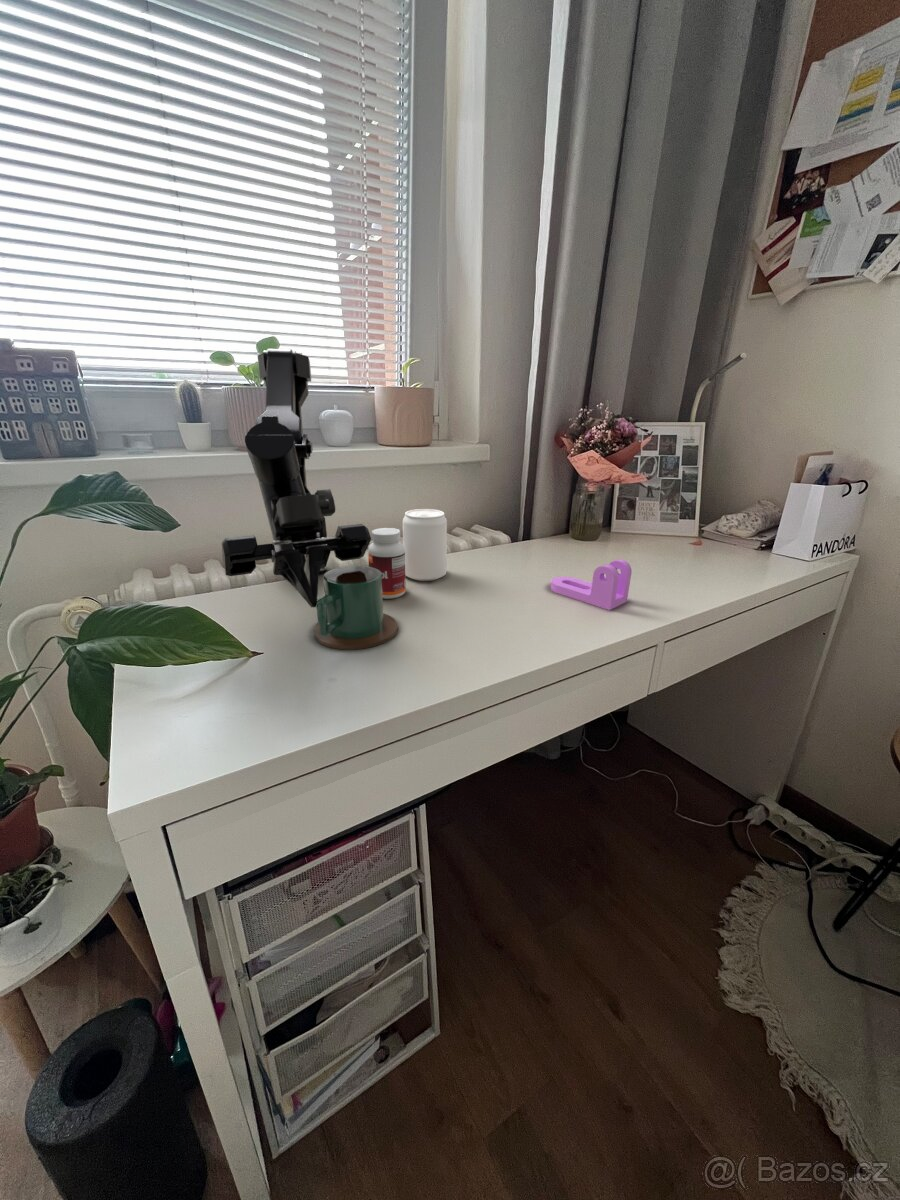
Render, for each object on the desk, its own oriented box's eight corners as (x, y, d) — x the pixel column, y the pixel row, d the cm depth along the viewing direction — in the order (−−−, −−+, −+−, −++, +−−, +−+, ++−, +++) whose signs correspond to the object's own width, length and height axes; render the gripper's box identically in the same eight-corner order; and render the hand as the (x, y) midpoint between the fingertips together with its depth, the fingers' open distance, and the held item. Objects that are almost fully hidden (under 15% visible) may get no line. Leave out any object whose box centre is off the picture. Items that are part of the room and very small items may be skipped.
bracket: (626, 601, 85) (633, 562, 82) (609, 610, 81) (615, 569, 79) (562, 581, 93) (566, 545, 91) (544, 588, 90) (547, 551, 87)
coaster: (297, 630, 73) (297, 627, 73) (363, 607, 81) (363, 604, 81) (347, 658, 65) (347, 654, 65) (414, 629, 74) (414, 626, 73)
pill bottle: (362, 593, 87) (358, 531, 83) (388, 584, 91) (386, 524, 87) (387, 602, 83) (384, 537, 79) (413, 592, 87) (412, 530, 83)
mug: (348, 611, 78) (345, 562, 75) (393, 621, 75) (392, 570, 72) (298, 643, 68) (291, 588, 65) (347, 655, 65) (343, 598, 62)
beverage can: (448, 569, 99) (449, 509, 95) (443, 583, 92) (444, 518, 87) (407, 567, 100) (406, 507, 95) (400, 581, 93) (398, 517, 88)
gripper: (210, 471, 58) (236, 591, 54) (363, 464, 67) (397, 567, 62) (214, 522, 68) (237, 628, 63) (347, 510, 76) (376, 603, 72)
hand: (314, 606), depth 65 cm, fingers closed
